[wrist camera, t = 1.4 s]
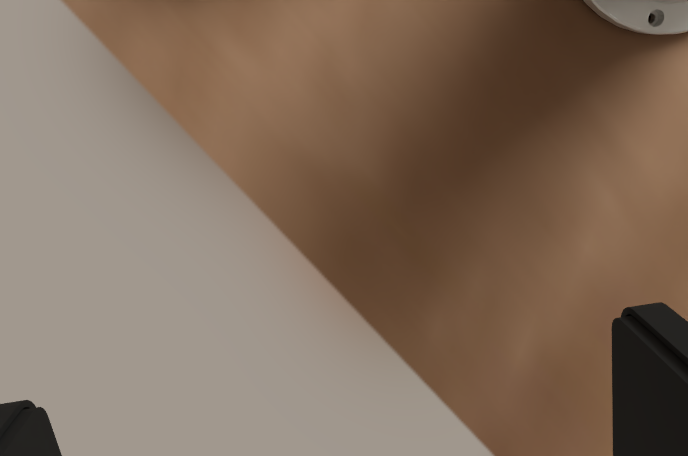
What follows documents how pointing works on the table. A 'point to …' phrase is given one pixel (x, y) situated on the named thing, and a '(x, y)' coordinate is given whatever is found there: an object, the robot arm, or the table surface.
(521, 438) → the table surface
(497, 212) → the table surface
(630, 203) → the table surface
